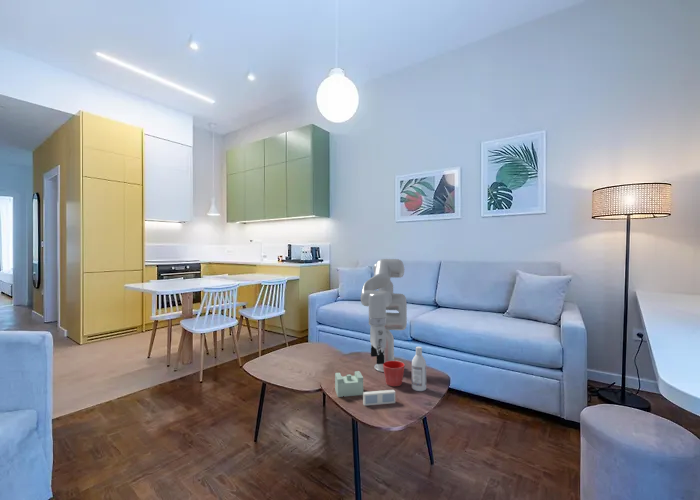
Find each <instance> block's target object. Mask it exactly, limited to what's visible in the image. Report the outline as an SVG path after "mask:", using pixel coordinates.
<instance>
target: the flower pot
mask: <svg viewBox="0 0 700 500" xmlns="http://www.w3.org/2000/svg"><path fill="white" fill-rule="evenodd" d="M399 361H400V360H398V361H396V360H395V361H387V362H385V363H384V364H383V368H384V372H383V373H384V379H385V384H386V385H387V386H389V387H400V386H402V384H403V378H404V375H405V373H404V372H405V366H406V364H405V363H404V362H403V361H402V362H399Z"/></svg>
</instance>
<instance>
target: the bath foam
mask: <svg viewBox="0 0 700 500" xmlns="http://www.w3.org/2000/svg"><path fill="white" fill-rule="evenodd" d="M411 389H412V390H413V391H417V392H424V391H426V390H427V361H426V359H425V358H424V356H423V348H422V346H416V347H415V355H414V356H413V358H412V360H411Z"/></svg>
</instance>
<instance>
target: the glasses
mask: <svg viewBox="0 0 700 500" xmlns="http://www.w3.org/2000/svg"><path fill="white" fill-rule="evenodd" d="M362 404H363V406H377V405H387V404H388V405H389V404H396V391H395V390H394V389H386V390H385V389H384V390H372V391H363V395H362Z"/></svg>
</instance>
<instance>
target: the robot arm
mask: <svg viewBox="0 0 700 500" xmlns="http://www.w3.org/2000/svg"><path fill="white" fill-rule="evenodd" d="M404 265H405V264H404V263H403V261H402V260H401V259H399V258H382V259H378V260H377V262H376V263H374V264H373V268H372V269H373V276H372V277H370V278H369V279H368V280H366V281H365V282H364V284H363V286H362V289H361V294H360V302H361V305H362V306H365V307H368V325H369V326H370V329H369V331H370V333H369V341H370V342H369V343H370V357H371V358H373V357H376V363H375V364H374V368H373V369H375V370H376V371H378V372H381V373H384V368H383V364H384V363H385V362H387V361H399V362H402V363H403V360H397V359H396V360H395V338H394V335H393V333H392V332H391V331H405V329H407V321H408V317H407V316H408V315H407V310H408V309H407V308H408V307H407V297H406V295H405V294H403V293H394V283H393V281H392V280H391V279H392V278H395V279H396V278H400V279H401V278H403V277H404V275H405V266H404ZM387 311H396V312H387Z"/></svg>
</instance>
